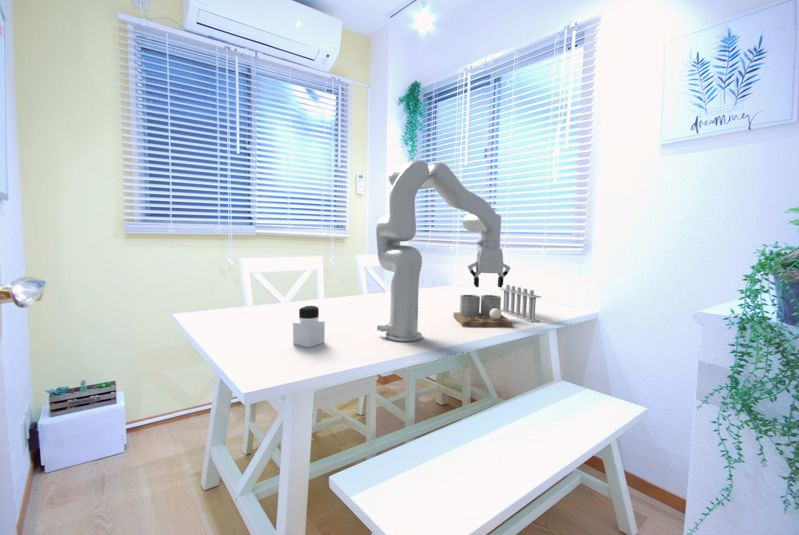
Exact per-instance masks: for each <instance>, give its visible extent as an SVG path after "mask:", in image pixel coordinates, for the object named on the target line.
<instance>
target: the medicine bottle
mask: <svg viewBox="0 0 799 535" xmlns="http://www.w3.org/2000/svg"><path fill="white" fill-rule="evenodd" d="M298 310H299V311H298V319H299V320H297V321H294V322H293V323H292V325H293V326H292V344H293V345H295V344H296V345H295V346H299V347H300V346H301V347H305V348H311V347H316V346H318V345H321V344H324V343H325V331H326V330H325V324H326V323H325V320H320V319H319V313H320V312H319V311H320V310H319V307H318V306H315V305H303V306H301V307H300V308H299V309H298Z"/></svg>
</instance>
